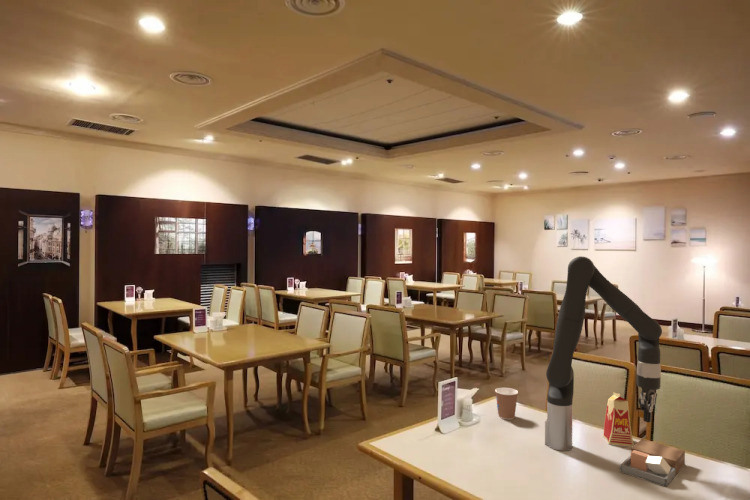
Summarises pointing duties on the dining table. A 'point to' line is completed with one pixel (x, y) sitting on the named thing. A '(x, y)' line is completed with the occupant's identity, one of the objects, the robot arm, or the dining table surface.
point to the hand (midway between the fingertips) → (647, 421)
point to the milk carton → (617, 422)
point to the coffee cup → (506, 402)
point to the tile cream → (658, 465)
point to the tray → (647, 473)
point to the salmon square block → (639, 460)
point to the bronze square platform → (662, 453)
